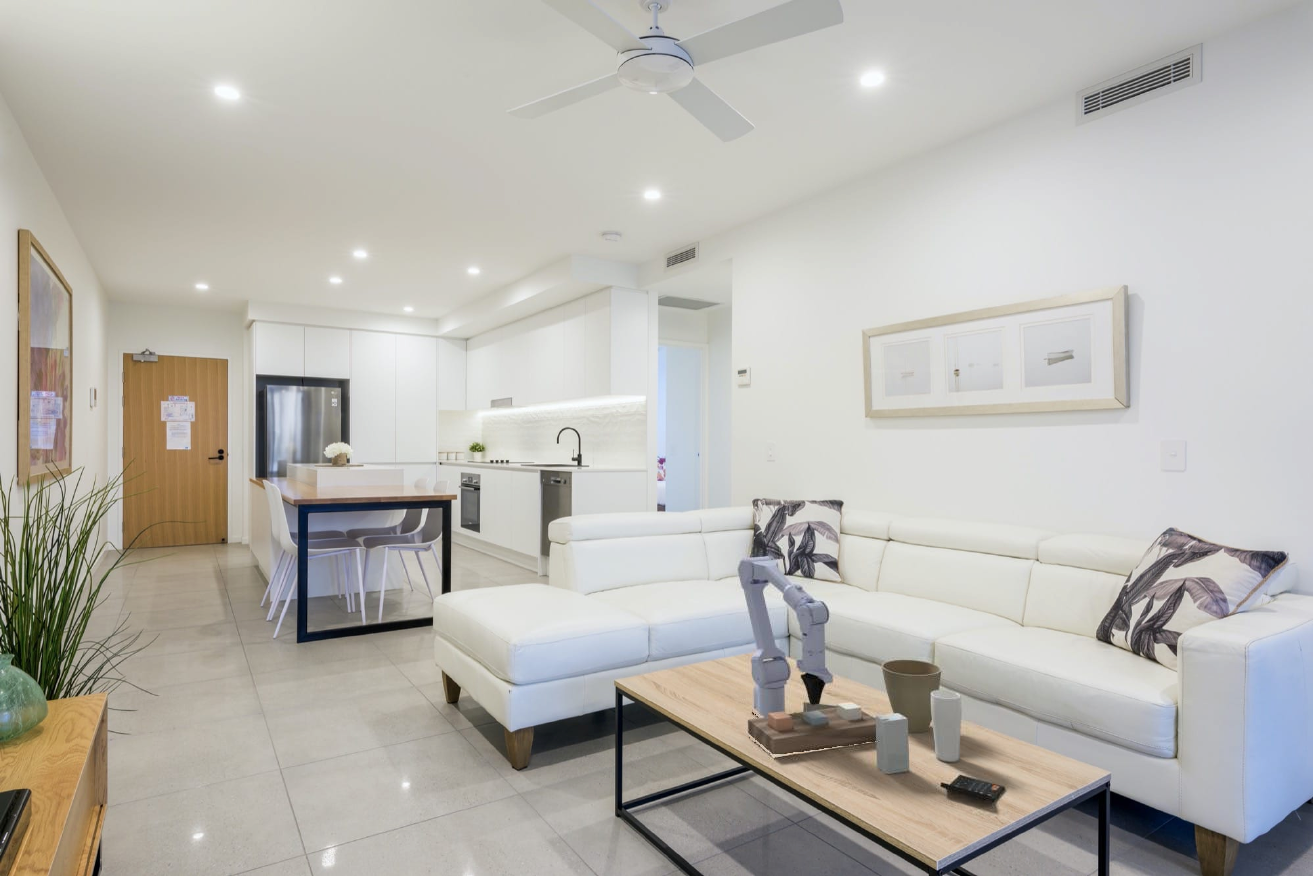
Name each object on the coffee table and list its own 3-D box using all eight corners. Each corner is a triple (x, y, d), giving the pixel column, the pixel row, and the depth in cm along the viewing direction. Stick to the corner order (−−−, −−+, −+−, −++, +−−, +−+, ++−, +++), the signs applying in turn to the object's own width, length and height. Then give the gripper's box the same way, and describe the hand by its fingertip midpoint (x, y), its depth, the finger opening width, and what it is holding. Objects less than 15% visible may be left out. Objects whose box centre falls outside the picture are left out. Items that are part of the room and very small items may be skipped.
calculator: (1005, 790, 152) (1004, 776, 152) (987, 811, 143) (987, 796, 143) (959, 778, 158) (959, 764, 158) (940, 797, 150) (940, 782, 150)
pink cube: (768, 727, 179) (767, 713, 180) (783, 725, 181) (783, 711, 181) (776, 733, 175) (776, 719, 175) (792, 731, 177) (791, 717, 177)
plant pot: (916, 714, 197) (914, 656, 198) (955, 733, 183) (954, 671, 184) (871, 722, 192) (870, 662, 193) (908, 742, 178) (906, 677, 179)
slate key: (803, 726, 182) (803, 712, 183) (818, 724, 184) (818, 710, 184) (812, 732, 178) (811, 718, 178) (827, 730, 180) (827, 716, 180)
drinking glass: (944, 766, 164) (942, 700, 165) (926, 754, 171) (924, 691, 171) (969, 762, 166) (967, 697, 166) (950, 751, 172) (948, 688, 173)
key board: (748, 737, 183) (747, 719, 183) (852, 722, 192) (851, 705, 193) (773, 758, 170) (773, 739, 170) (884, 741, 179) (883, 722, 179)
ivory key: (837, 717, 186) (836, 703, 186) (851, 715, 187) (851, 701, 187) (846, 723, 181) (846, 709, 182) (861, 721, 183) (861, 707, 183)
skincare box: (899, 764, 165) (897, 711, 166) (910, 772, 161) (909, 718, 161) (875, 767, 164) (874, 714, 164) (886, 775, 159) (885, 721, 160)
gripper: (785, 644, 187) (786, 696, 187) (814, 658, 174) (815, 715, 173) (809, 642, 190) (810, 693, 189) (839, 655, 176) (840, 711, 175)
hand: (814, 703), depth 181 cm, fingers closed
